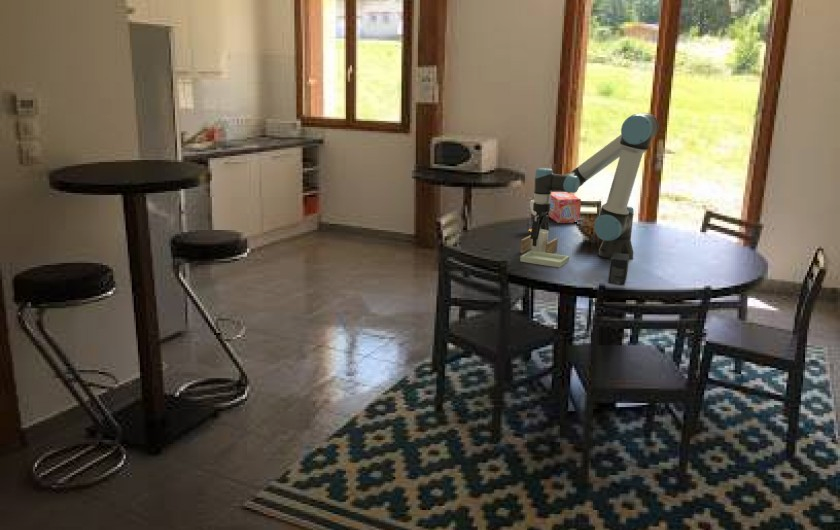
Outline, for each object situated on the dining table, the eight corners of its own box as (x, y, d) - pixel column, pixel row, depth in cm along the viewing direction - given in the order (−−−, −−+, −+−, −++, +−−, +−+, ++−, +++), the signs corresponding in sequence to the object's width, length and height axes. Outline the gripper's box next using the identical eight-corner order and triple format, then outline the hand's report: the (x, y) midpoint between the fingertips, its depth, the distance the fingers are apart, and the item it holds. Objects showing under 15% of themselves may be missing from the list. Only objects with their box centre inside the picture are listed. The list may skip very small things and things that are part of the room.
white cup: (547, 254, 309) (548, 233, 307) (529, 253, 311) (530, 232, 308) (547, 250, 317) (549, 229, 314) (530, 249, 318) (531, 228, 316)
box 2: (624, 285, 266) (627, 260, 263) (607, 283, 268) (609, 258, 265) (627, 278, 275) (629, 253, 272) (610, 276, 278) (612, 251, 275)
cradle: (556, 251, 316) (557, 238, 314) (547, 256, 306) (548, 243, 304) (530, 247, 322) (530, 234, 320) (520, 252, 312) (521, 239, 310)
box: (544, 214, 399) (545, 190, 395) (565, 213, 400) (566, 190, 397) (557, 223, 373) (559, 199, 370) (580, 223, 375) (582, 199, 371)
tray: (568, 261, 299) (569, 256, 298) (559, 267, 289) (560, 262, 288) (530, 255, 308) (530, 250, 307) (520, 261, 298) (520, 256, 297)
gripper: (542, 198, 319) (539, 244, 325) (524, 205, 300) (521, 254, 306) (558, 199, 315) (554, 246, 321) (540, 207, 296) (537, 256, 302)
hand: (538, 250), depth 314 cm, fingers open, 10 cm apart
